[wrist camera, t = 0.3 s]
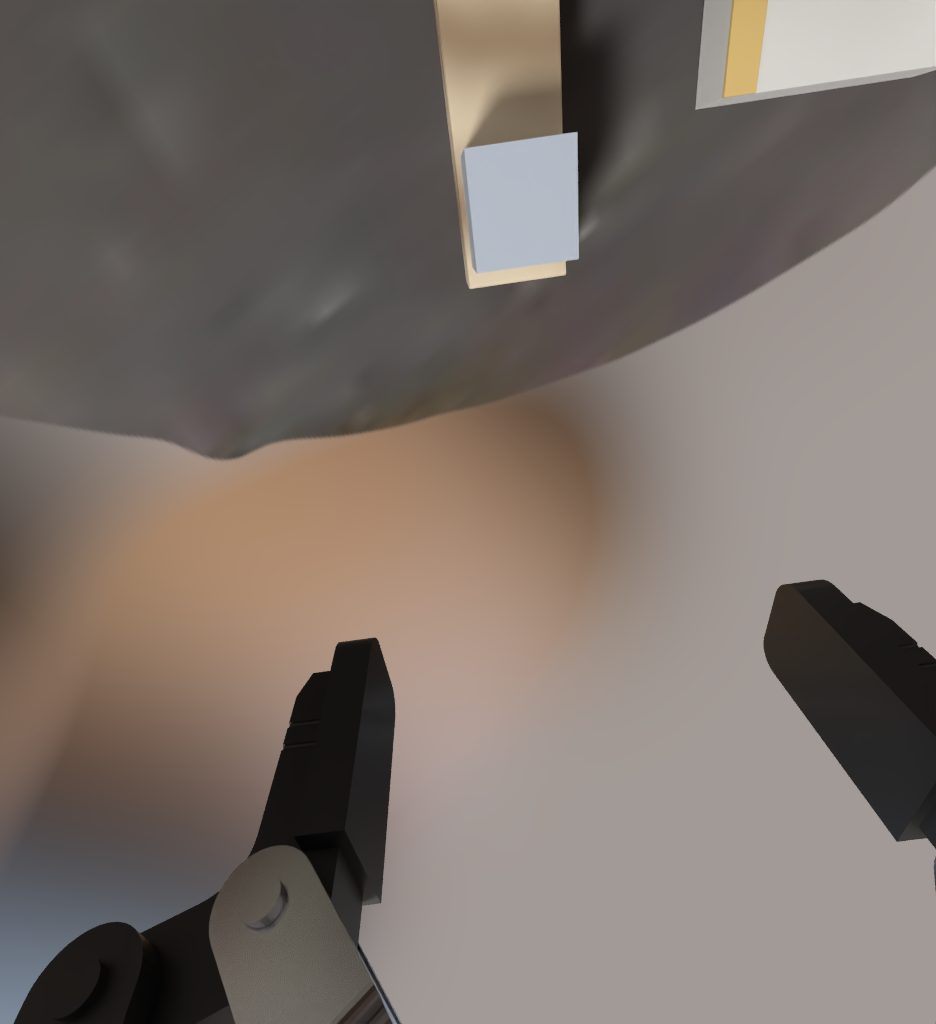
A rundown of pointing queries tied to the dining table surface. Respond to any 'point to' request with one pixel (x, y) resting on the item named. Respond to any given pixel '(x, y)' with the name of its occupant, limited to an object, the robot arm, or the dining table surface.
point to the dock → (810, 46)
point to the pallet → (499, 91)
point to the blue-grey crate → (522, 202)
